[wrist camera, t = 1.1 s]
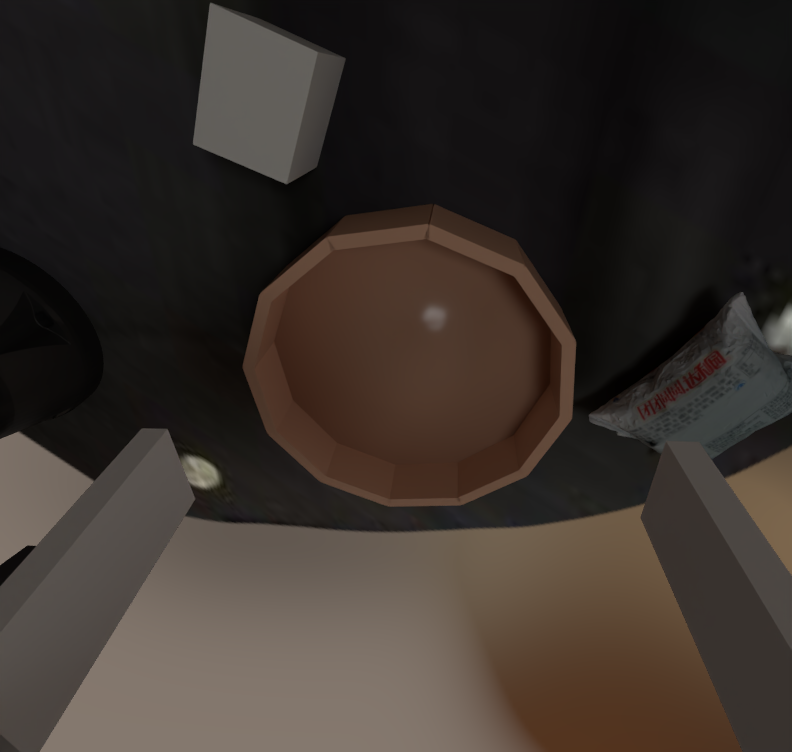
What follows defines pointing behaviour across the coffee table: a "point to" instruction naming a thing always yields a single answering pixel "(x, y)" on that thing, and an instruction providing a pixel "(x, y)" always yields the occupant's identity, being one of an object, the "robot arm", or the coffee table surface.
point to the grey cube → (264, 95)
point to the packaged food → (707, 388)
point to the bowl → (412, 359)
